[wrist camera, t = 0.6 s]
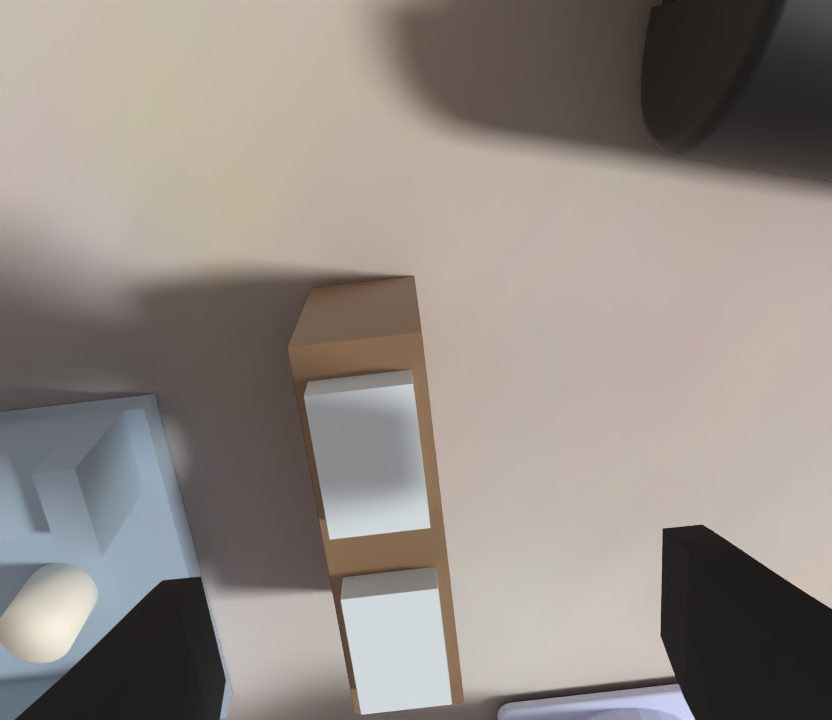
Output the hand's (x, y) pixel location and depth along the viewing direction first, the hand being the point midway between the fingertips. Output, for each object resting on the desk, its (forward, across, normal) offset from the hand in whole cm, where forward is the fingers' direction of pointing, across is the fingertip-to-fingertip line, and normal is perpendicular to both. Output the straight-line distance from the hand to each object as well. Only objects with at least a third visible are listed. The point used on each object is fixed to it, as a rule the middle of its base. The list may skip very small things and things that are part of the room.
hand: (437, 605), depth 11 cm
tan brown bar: (+10, +1, +2) cm, 10 cm away
